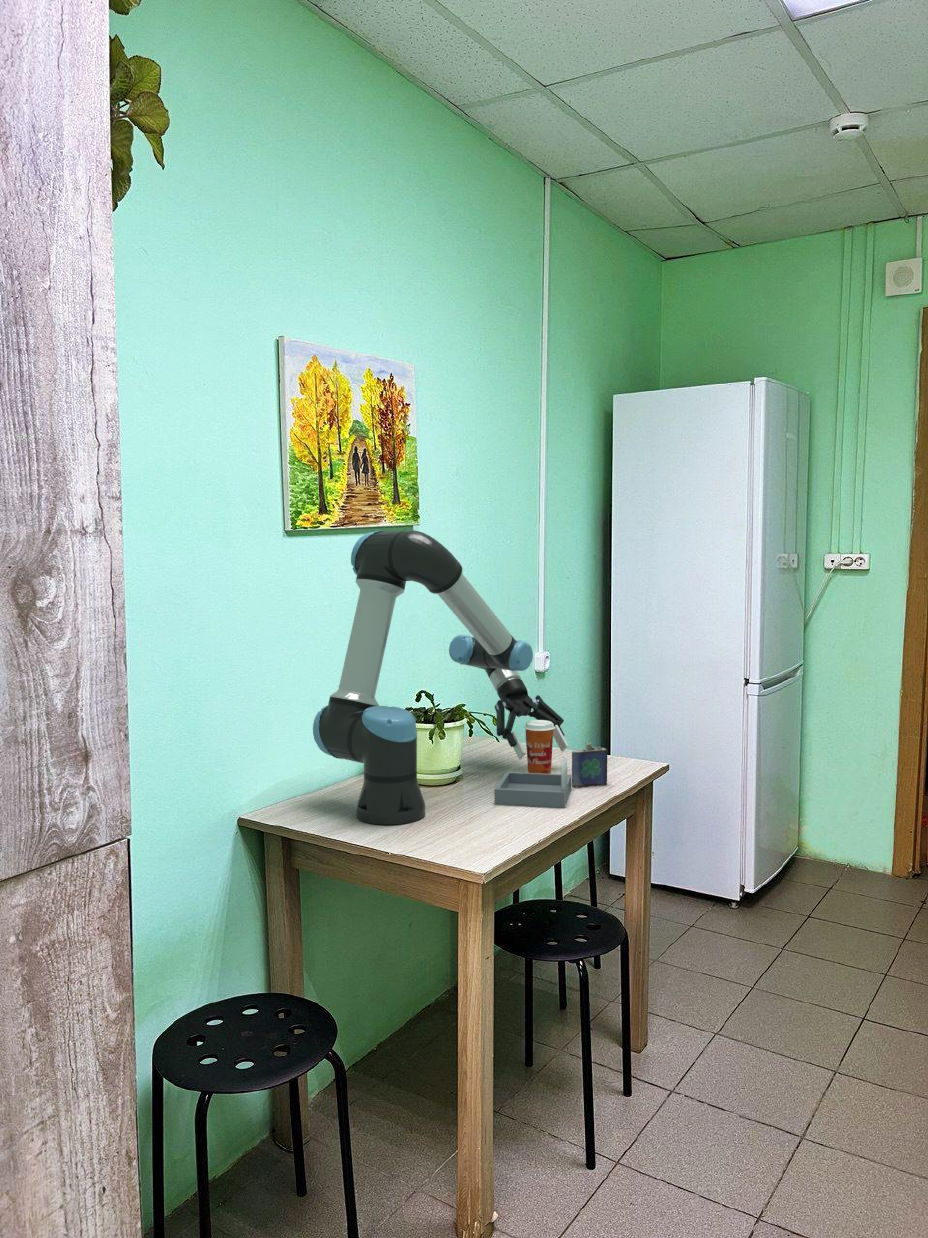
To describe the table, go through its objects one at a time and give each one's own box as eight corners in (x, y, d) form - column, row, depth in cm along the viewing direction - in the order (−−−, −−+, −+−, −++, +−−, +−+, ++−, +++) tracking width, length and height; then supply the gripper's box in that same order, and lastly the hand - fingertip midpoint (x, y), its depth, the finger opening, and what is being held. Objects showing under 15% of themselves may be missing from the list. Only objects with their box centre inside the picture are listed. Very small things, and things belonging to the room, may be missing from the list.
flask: (573, 788, 222) (573, 745, 221) (569, 785, 225) (569, 742, 224) (609, 785, 224) (609, 742, 223) (604, 782, 227) (604, 740, 226)
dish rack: (494, 804, 209) (494, 761, 208) (506, 785, 225) (505, 745, 224) (564, 808, 206) (564, 764, 205) (571, 788, 221) (571, 748, 220)
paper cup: (521, 779, 230) (521, 724, 229) (528, 772, 238) (527, 718, 237) (551, 781, 228) (551, 726, 227) (557, 774, 235) (557, 720, 234)
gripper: (540, 689, 252) (575, 753, 240) (464, 699, 238) (497, 767, 227) (552, 672, 247) (588, 737, 235) (475, 681, 233) (510, 750, 222)
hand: (544, 752), depth 231 cm, fingers open, 13 cm apart
